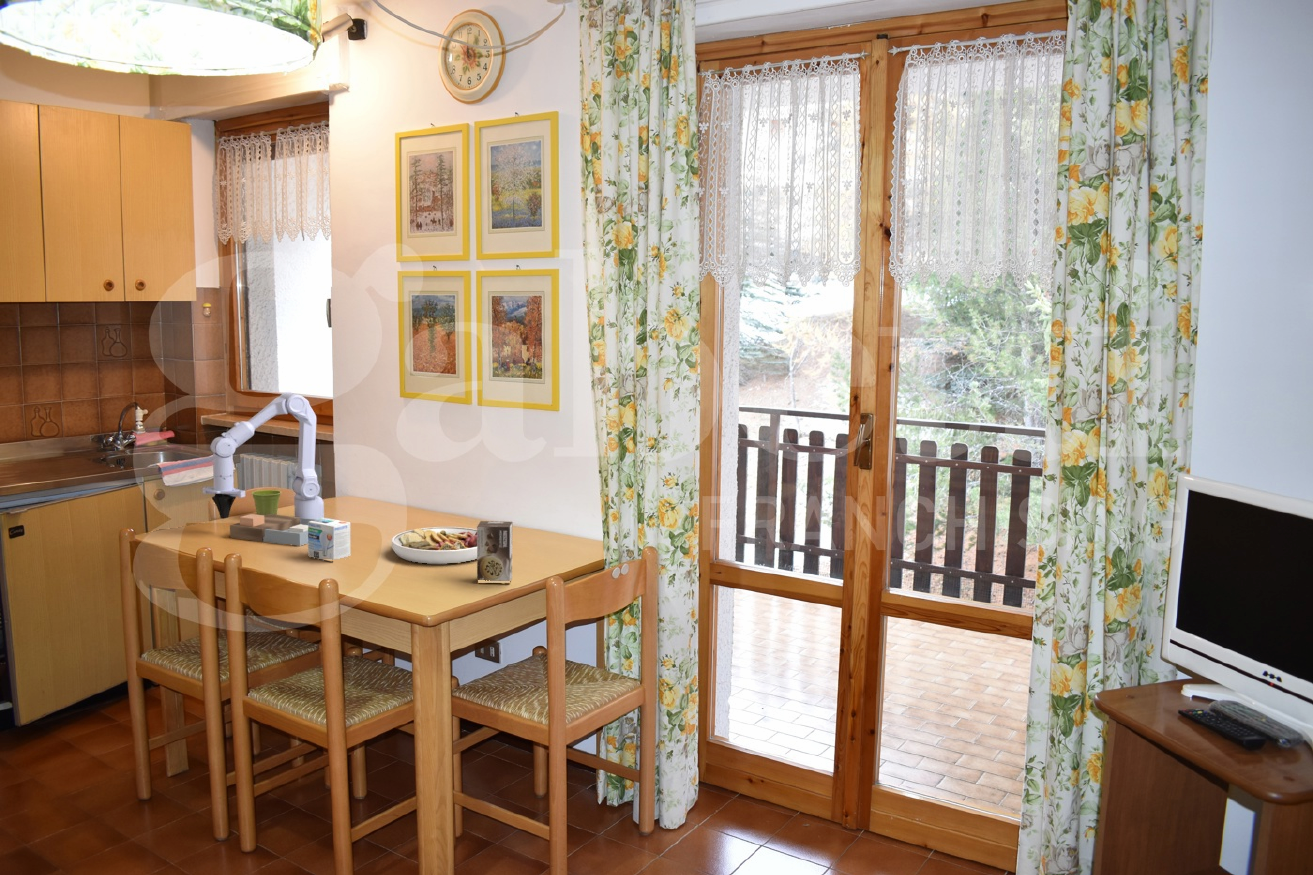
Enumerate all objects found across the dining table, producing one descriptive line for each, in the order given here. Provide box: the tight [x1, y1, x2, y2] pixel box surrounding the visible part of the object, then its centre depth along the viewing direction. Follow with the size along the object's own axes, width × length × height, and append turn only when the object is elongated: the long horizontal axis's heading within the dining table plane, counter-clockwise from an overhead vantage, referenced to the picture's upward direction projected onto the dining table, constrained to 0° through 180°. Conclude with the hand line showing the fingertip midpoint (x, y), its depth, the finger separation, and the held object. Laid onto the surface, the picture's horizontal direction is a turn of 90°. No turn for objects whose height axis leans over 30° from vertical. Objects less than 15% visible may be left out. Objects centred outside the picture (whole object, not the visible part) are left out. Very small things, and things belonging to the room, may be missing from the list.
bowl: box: [391, 526, 477, 565], centre depth 284 cm, size 30×30×8 cm
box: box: [263, 518, 318, 547], centre depth 296 cm, size 18×13×4 cm
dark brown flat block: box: [229, 514, 300, 543], centre depth 300 cm, size 18×12×4 cm, turn 163°
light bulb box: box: [307, 517, 351, 560], centre depth 275 cm, size 11×7×11 cm, turn 62°
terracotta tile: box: [239, 513, 264, 527], centre depth 295 cm, size 5×5×2 cm
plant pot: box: [251, 489, 282, 515], centre depth 322 cm, size 9×9×9 cm
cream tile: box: [290, 524, 308, 533], centre depth 299 cm, size 5×5×2 cm
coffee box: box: [476, 520, 514, 581], centre depth 257 cm, size 9×6×16 cm
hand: (224, 517), depth 298 cm, fingers closed
